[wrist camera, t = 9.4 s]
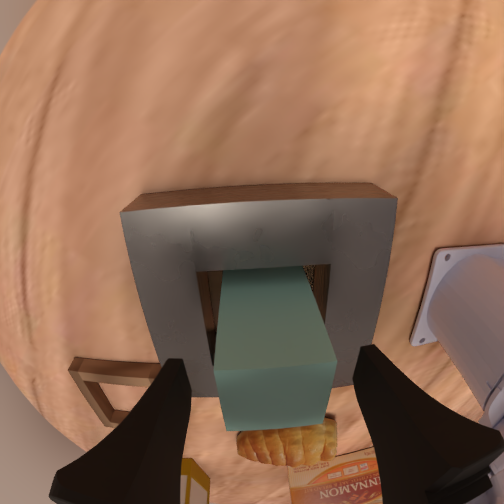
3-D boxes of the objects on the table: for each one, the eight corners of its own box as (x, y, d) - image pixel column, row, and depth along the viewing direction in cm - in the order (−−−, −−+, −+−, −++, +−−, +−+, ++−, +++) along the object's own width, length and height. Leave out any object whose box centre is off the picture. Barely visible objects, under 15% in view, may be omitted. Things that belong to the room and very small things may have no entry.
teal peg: (297, 254, 16) (337, 361, 9) (295, 313, 18) (322, 423, 11) (224, 258, 16) (213, 370, 9) (230, 317, 18) (226, 431, 11)
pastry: (240, 449, 26) (241, 480, 22) (231, 418, 23) (231, 453, 20) (329, 439, 26) (336, 468, 22) (336, 406, 23) (346, 439, 20)
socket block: (371, 183, 14) (397, 198, 12) (347, 353, 20) (359, 383, 17) (141, 194, 14) (119, 212, 12) (179, 364, 19) (172, 396, 17)
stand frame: (165, 363, 19) (161, 379, 18) (187, 421, 23) (185, 435, 21) (74, 357, 19) (67, 370, 18) (108, 414, 23) (105, 426, 21)
